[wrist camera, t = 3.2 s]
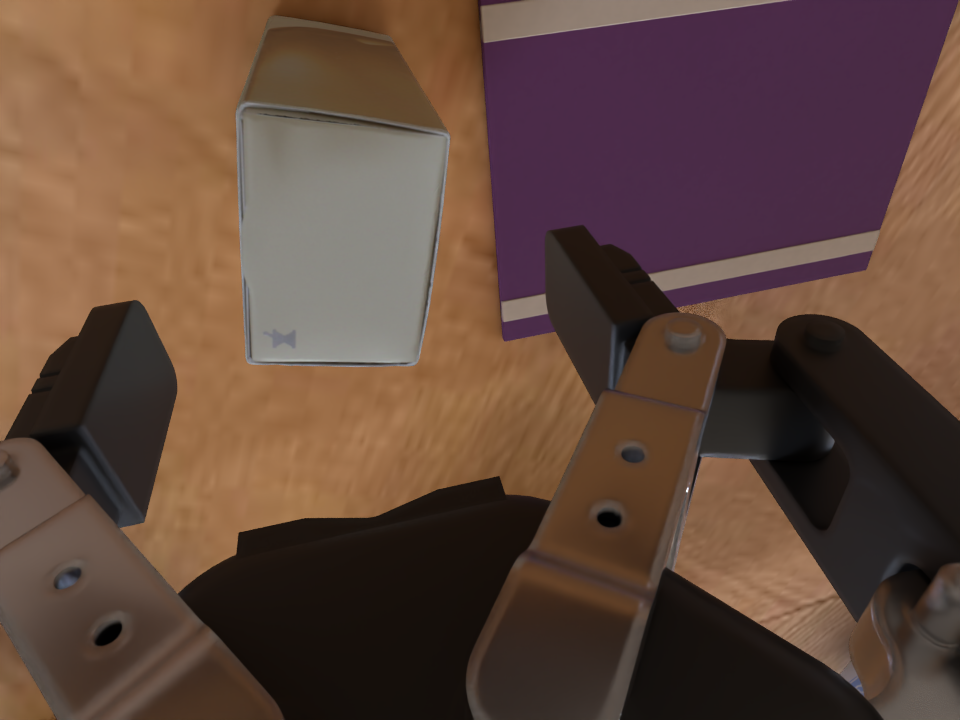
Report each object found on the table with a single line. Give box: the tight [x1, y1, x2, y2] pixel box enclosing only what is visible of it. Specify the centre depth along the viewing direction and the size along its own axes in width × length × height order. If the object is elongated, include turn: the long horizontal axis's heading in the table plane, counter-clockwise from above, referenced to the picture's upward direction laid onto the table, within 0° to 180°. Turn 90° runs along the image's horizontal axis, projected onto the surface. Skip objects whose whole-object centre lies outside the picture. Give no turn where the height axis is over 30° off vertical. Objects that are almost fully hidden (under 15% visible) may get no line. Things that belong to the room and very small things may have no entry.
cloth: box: [478, 0, 958, 341], centre depth 28 cm, size 20×16×1 cm
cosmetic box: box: [236, 15, 450, 367], centre depth 19 cm, size 6×4×12 cm
